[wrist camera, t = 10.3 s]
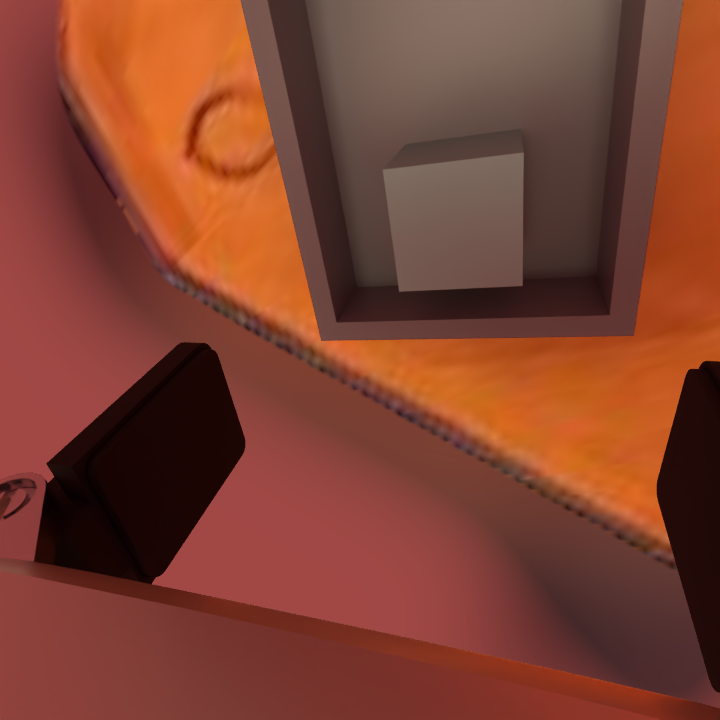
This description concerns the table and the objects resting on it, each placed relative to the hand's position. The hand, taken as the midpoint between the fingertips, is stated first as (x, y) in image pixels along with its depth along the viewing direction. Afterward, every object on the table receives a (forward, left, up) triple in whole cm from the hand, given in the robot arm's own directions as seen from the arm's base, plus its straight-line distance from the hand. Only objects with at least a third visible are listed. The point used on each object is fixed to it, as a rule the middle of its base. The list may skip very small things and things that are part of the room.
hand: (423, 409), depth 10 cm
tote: (+4, 0, -17) cm, 17 cm away
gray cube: (0, 0, -16) cm, 16 cm away
